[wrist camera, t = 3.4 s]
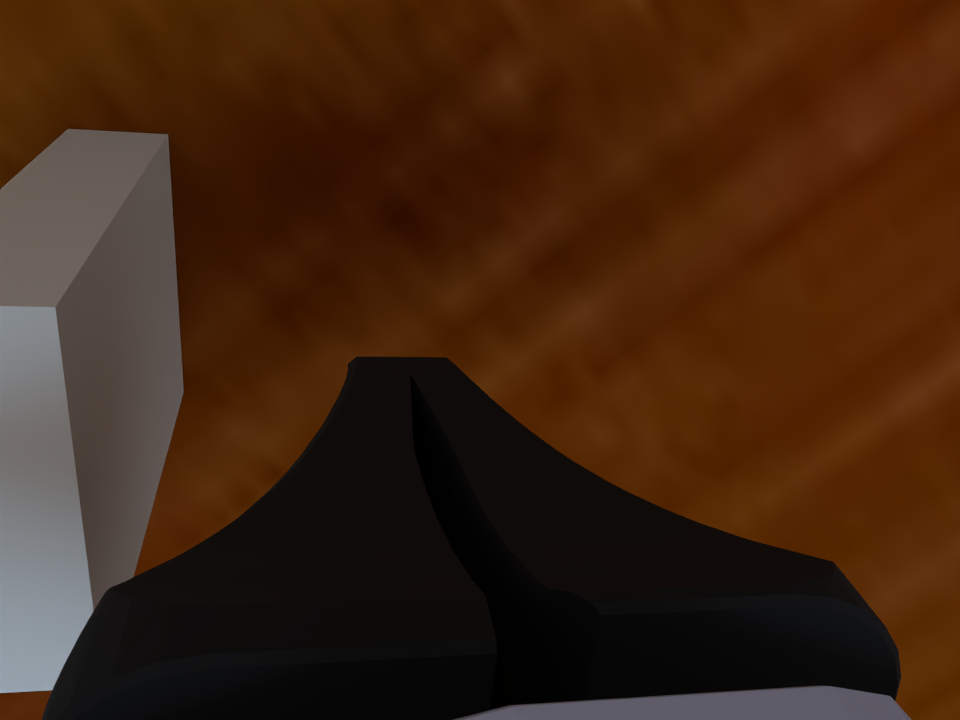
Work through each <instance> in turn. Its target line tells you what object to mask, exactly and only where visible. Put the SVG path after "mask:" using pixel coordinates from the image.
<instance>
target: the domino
mask: <svg viewBox="0 0 960 720" xmlns="http://www.w3.org/2000/svg"><path fill="white" fill-rule="evenodd" d="M183 393H184V388H183V372H182V355H181V339H180V322H179V305H178V289H177V272H176V256H175V239H174V223H173V206H172V190H171V173H170V156H169V140H168V134H154V133H135V132H117V131H99V130H80V129H67V130H66V131H65V132H64V133H63V134H62V135H61V136H59V137H58V138H57V139H56V140H55V141H54V142H53V143H52V144H50V145H49V146H48V147H47V148H46V149H45V150H44V151H43V152H41V153H40V154H39V155H38V156H37V157H36V158H35V159H34V160H32V161H31V162H30V163H29V164H28V165H27V166H26V167H25V168H23V169H22V170H21V171H20V172H19V173H18V174H17V175H16V176H14V177H13V178H12V179H11V180H10V181H9V182H8V183H7V184H5V185H4V186H3V187H2V188H1V189H0V693H9V692H27V691H46V690H53V687H54V685H55V683H56V681H57V679H58V677H59V674H60V672H61V670H62V668H63V666H64V664H65V662H66V660H67V658H68V656H69V655H70V653H71V651H72V649H73V647H74V645H75V643H76V641H77V639H78V637H79V635H80V633H81V632H82V630H83V628H84V627H85V625H86V623H87V621H88V620H89V618H90V616H91V615H92V613H93V611H94V609H95V608H96V606H97V605H98V603H99V601H100V600H101V598H102V597H103V595H104V593H105V592H106V591H107V590H108V589H109V588H110V587H113V586H115V585H118V584H120V583H123V582H125V581H127V580H129V579H131V578H133V576H134V572H135V569H136V565H137V561H138V558H139V554H140V550H141V547H142V543H143V539H144V536H145V532H146V528H147V525H148V521H149V517H150V514H151V510H152V506H153V503H154V499H155V495H156V492H157V488H158V484H159V481H160V477H161V473H162V470H163V466H164V462H165V459H166V455H167V451H168V448H169V444H170V440H171V437H172V433H173V429H174V426H175V422H176V418H177V415H178V411H179V407H180V404H181V400H182V396H183Z"/></svg>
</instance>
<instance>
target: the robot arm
mask: <svg viewBox="0 0 960 720" xmlns="http://www.w3.org/2000/svg"><path fill="white" fill-rule="evenodd" d="M900 679H901V672H900V662H899V652H898V649H897V647H896V645H895V643H894V641H893V640H892V638H891V636H890V634H889V632H888V630H887V629H886V627H885V625H884V624H883V623H882V622H881V620H880V619H879V618H878V617H877V615H876V614H875V613H874V612H873V610H872V609H871V608H870V607H869V605H868V604H867V603H866V602H865V600H864V599H863V598H862V597H861V595H860V594H859V593H858V592H857V590H856V589H855V588H854V587H853V585H852V584H851V583H850V582H849V580H848V579H847V578H846V577H845V575H844V574H843V573H842V572H841V570H840V569H839V568H838V567H837V566H836V565H835V564H834V562H832V561H828V560H824V559H820V558H816V557H812V556H809V555H805V554H801V553H797V552H793V551H789V550H785V549H782V548H778V547H774V546H770V545H766V544H762V543H758V542H755V541H751V540H748V539H745V538H741V537H738V536H736V535H733V534H730V533H727V532H724V531H721V530H718V529H715V528H712V527H709V526H706V525H704V524H701V523H698V522H695V521H693V520H690V519H688V518H685V517H683V516H680V515H678V514H675V513H673V512H670V511H668V510H666V509H663V508H661V507H659V506H657V505H655V504H652V503H650V502H648V501H646V500H644V499H642V498H639V497H637V496H635V495H633V494H631V493H629V492H627V491H625V490H623V489H621V488H619V487H617V486H615V485H613V484H611V483H609V482H607V481H606V480H604V479H602V478H601V477H599V476H597V475H596V474H594V473H592V472H590V471H589V470H587V469H585V468H584V467H582V466H580V465H579V464H577V463H575V462H573V461H572V460H570V459H569V458H567V457H566V456H564V455H563V454H561V453H560V452H558V451H557V450H555V449H554V448H553V447H551V446H550V445H549V444H547V443H546V442H544V441H543V440H542V439H540V438H539V437H538V436H536V435H535V434H534V433H532V432H531V431H530V430H528V429H527V428H526V427H524V426H523V425H522V424H521V423H519V422H518V421H517V420H516V419H515V418H513V417H512V416H511V415H510V414H509V413H507V412H506V411H505V410H504V409H503V408H502V407H500V406H499V405H498V404H497V403H496V402H495V401H493V400H492V399H491V398H490V397H489V396H488V395H487V394H486V393H485V392H484V391H482V390H481V389H480V388H479V387H478V386H477V385H476V384H475V383H474V382H473V381H472V380H471V379H470V378H468V377H467V376H466V375H465V374H464V373H463V372H462V371H461V370H460V369H459V368H458V367H457V366H456V365H455V364H453V363H452V362H451V361H450V360H449V359H448V358H436V357H356V358H355V359H354V360H352V361H351V362H350V363H349V364H348V373H347V377H346V380H345V383H344V385H343V388H342V390H341V392H340V394H339V397H338V399H337V400H336V402H335V404H334V406H333V408H332V409H331V411H330V413H329V415H328V417H327V418H326V420H325V422H324V423H323V425H322V426H321V428H320V429H319V431H318V432H317V434H316V435H315V436H314V438H313V439H312V441H311V442H310V443H309V445H308V446H307V448H306V449H305V450H304V452H303V453H302V454H301V456H300V457H299V458H298V459H297V461H296V462H295V463H294V464H293V465H292V467H291V468H290V469H289V470H288V471H287V472H286V473H285V475H284V476H283V477H282V478H281V479H280V480H279V481H278V482H277V483H276V484H275V485H274V486H273V487H272V488H271V489H270V490H269V491H268V492H267V493H266V494H265V495H264V496H263V497H261V498H260V499H259V500H258V501H257V502H256V503H255V504H254V505H252V506H251V507H250V508H249V509H248V510H247V511H246V512H245V513H243V514H242V515H241V516H240V517H238V518H237V519H236V520H235V521H233V522H232V523H230V524H229V525H227V526H226V527H224V528H223V529H222V530H220V531H219V532H217V533H216V534H214V535H213V536H211V537H209V538H208V539H206V540H204V541H203V542H201V543H199V544H198V545H196V546H194V547H193V548H191V549H190V550H188V551H186V552H184V553H182V554H180V555H179V556H177V557H175V558H173V559H171V560H169V561H167V562H165V563H163V564H161V565H159V566H156V567H154V568H152V569H150V570H148V571H146V572H144V573H142V574H140V575H138V576H135V577H133V578H131V579H129V580H127V581H125V582H123V583H120V584H118V585H115V586H113V587H110V588H109V589H108V590H107V591H106V592H105V593H104V595H103V597H102V598H101V600H100V601H99V603H98V605H97V606H96V608H95V609H94V611H93V613H92V615H91V616H90V618H89V620H88V621H87V623H86V625H85V627H84V628H83V630H82V632H81V633H80V635H79V637H78V639H77V641H76V643H75V645H74V647H73V649H72V651H71V653H70V655H69V656H68V658H67V660H66V662H65V664H64V666H63V668H62V670H61V672H60V674H59V677H58V679H57V681H56V683H55V685H54V687H53V690H52V693H51V695H50V698H49V700H48V703H47V706H46V709H45V712H44V715H43V718H42V720H911V719H910V717H909V716H908V715H907V714H906V713H905V712H904V711H903V710H902V709H901V707H900V706H899V705H898V704H897V703H896V702H895V700H896V696H897V692H898V688H899V684H900Z"/></svg>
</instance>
